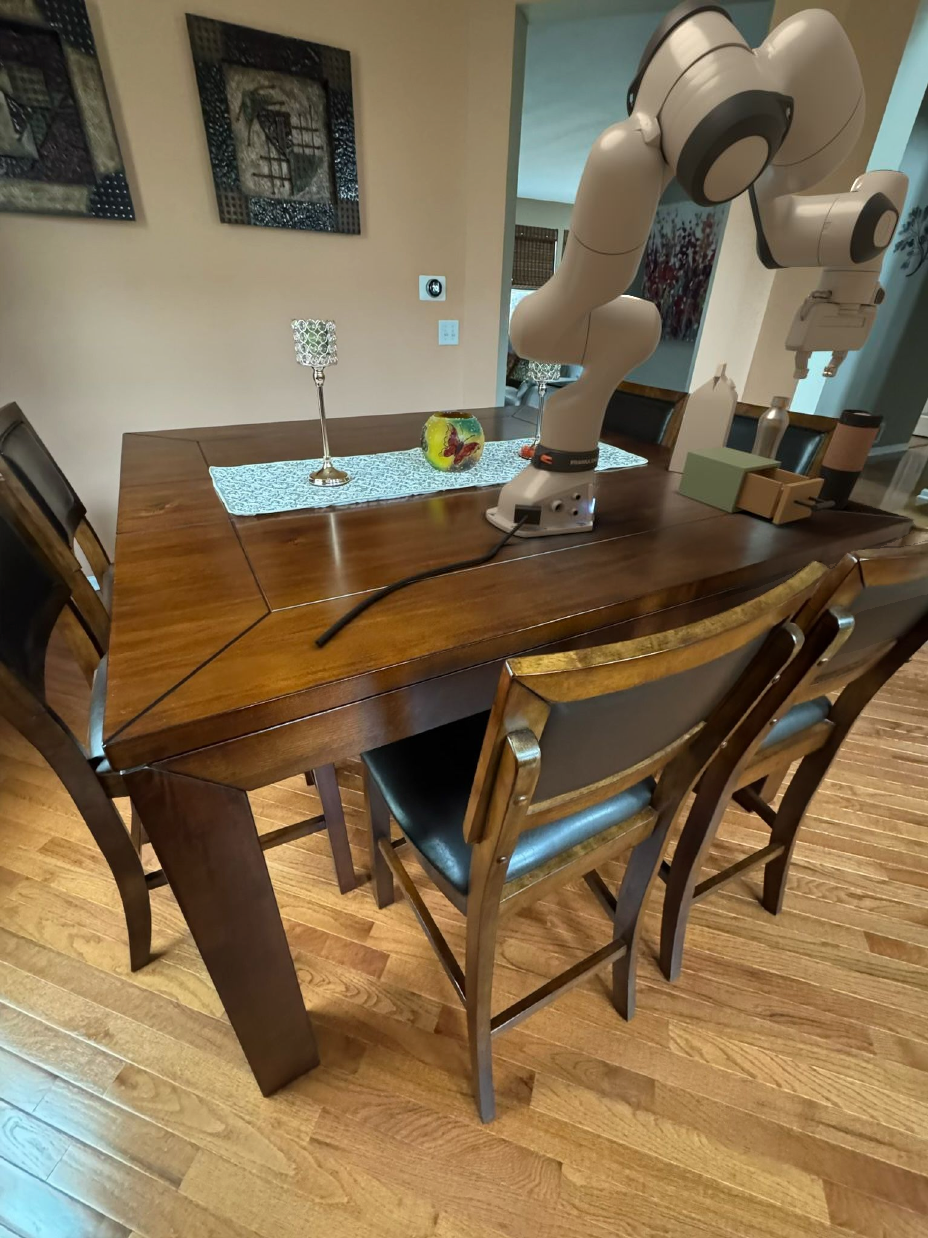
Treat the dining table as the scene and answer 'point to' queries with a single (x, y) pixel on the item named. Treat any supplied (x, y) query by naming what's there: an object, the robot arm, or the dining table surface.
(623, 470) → the dining table surface
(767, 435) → the plastic bottle
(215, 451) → the dining table surface
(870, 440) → the travel mug
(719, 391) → the milk
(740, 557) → the dining table surface
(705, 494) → the cabinet
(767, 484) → the drawer
